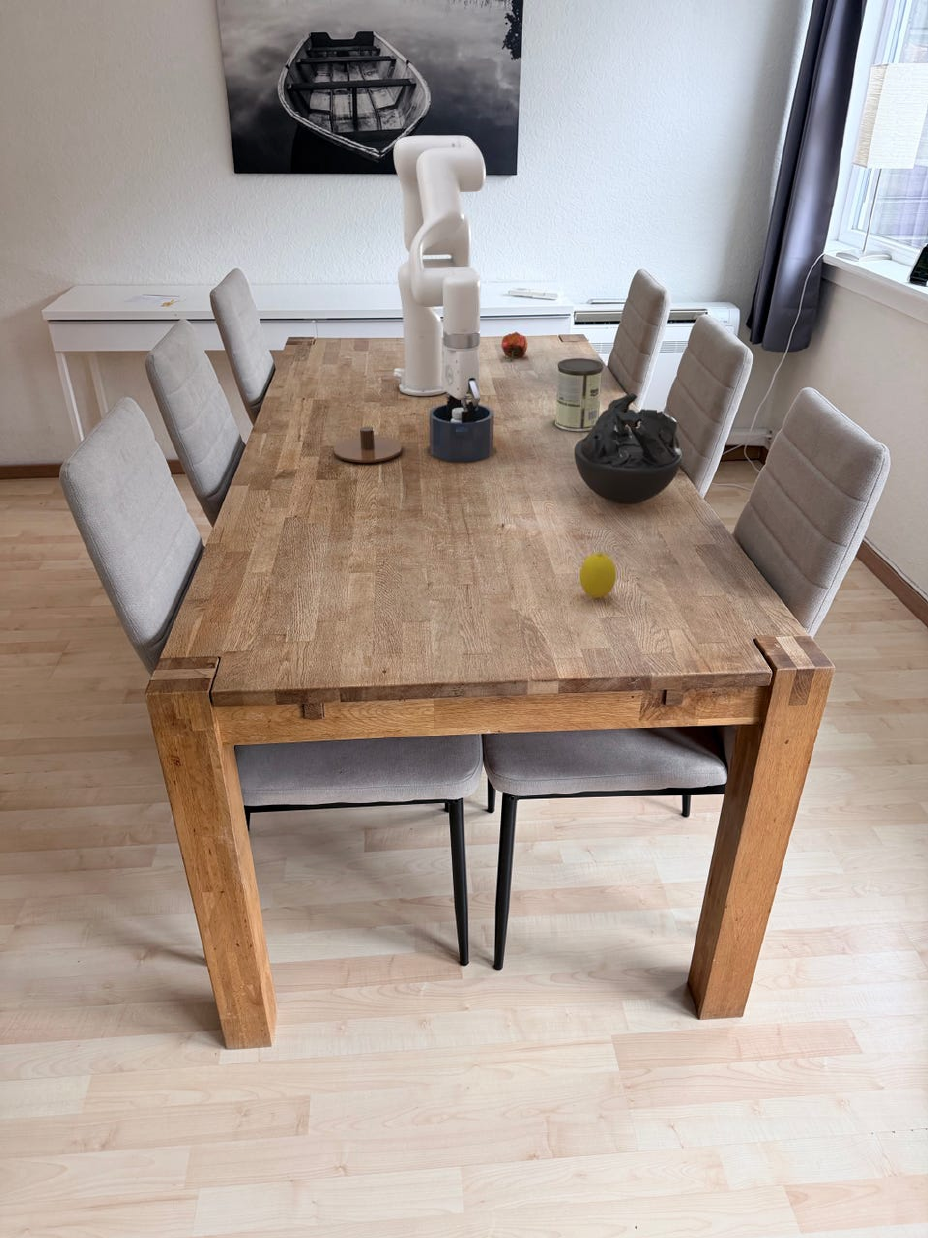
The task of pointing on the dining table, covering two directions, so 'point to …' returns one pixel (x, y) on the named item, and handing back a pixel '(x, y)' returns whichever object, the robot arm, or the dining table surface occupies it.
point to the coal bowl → (629, 453)
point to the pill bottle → (457, 415)
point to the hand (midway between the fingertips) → (461, 422)
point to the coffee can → (578, 394)
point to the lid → (367, 447)
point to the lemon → (598, 575)
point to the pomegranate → (514, 345)
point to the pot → (461, 435)
